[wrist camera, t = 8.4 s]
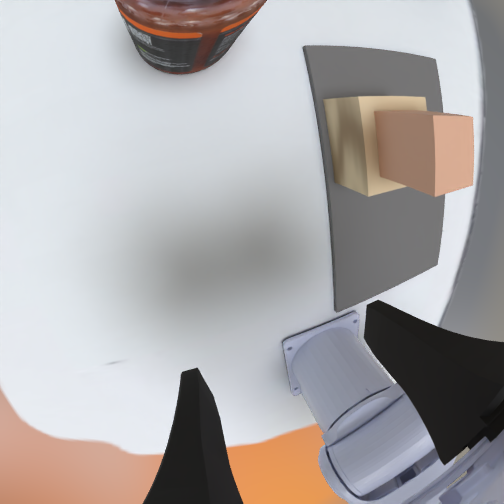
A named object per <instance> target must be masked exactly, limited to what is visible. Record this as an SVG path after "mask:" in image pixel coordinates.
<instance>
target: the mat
mask: <svg viewBox="0 0 504 504" xmlns="http://www.w3.org/2000/svg"><path fill="white" fill-rule="evenodd" d="M303 50H304V55H305V59H306V64H307V68H308V73H309V78H310V83H311V88H312V93H313V99H314V104H315V110H316V116H317V122H318V128H319V134H320V141H321V148H322V155H323V162H324V170H325V179H326V187H327V197H328V207H329V217H330V229H331V243H332V258H333V277H334V307H335V311H336V313H337V312H340V311H342V310H344V309H347V308H349V307H351V306H354V305H356V304H358V303H360V302H363V301H365V300H367V299H369V298H372V297H374V296H376V295H378V294H380V293H382V292H384V291H387V290H389V289H391V288H393V287H395V286H397V285H399V284H401V283H403V282H405V281H407V280H409V279H411V278H413V277H415V276H417V275H419V274H421V273H423V272H425V271H427V270H429V269H430V268H432V267H434V266H436V265H438V258H439V252H440V244H441V236H442V227H443V217H444V203H445V194H443V195H440V196H436V197H433V196H431V195H428V194H426V193H423V192H421V191H418V190H416V189H413V188H410V187H408V186H407V187H403V188H399V189H396V190H392V191H388V192H384V193H381V194H377V195H373V196H369V197H368V196H366V195H363V194H361V193H359V192H356V191H354V190H352V189H349V188H347V187H345V186H342V185H340V184H337V183H335V181H334V172H333V163H332V155H331V147H330V140H329V133H328V126H327V120H326V114H325V108H324V102H323V99H333V98H344V97H359V96H413V97H425V99H426V107H427V111H432V112H441V113H443V104H442V96H441V88H440V81H439V75H438V69H437V64H436V59H433V58H429V57H424V56H419V55H414V54H408V53H402V52H396V51H389V50H381V49H372V48H362V47H348V46H304V47H303Z"/></svg>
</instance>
